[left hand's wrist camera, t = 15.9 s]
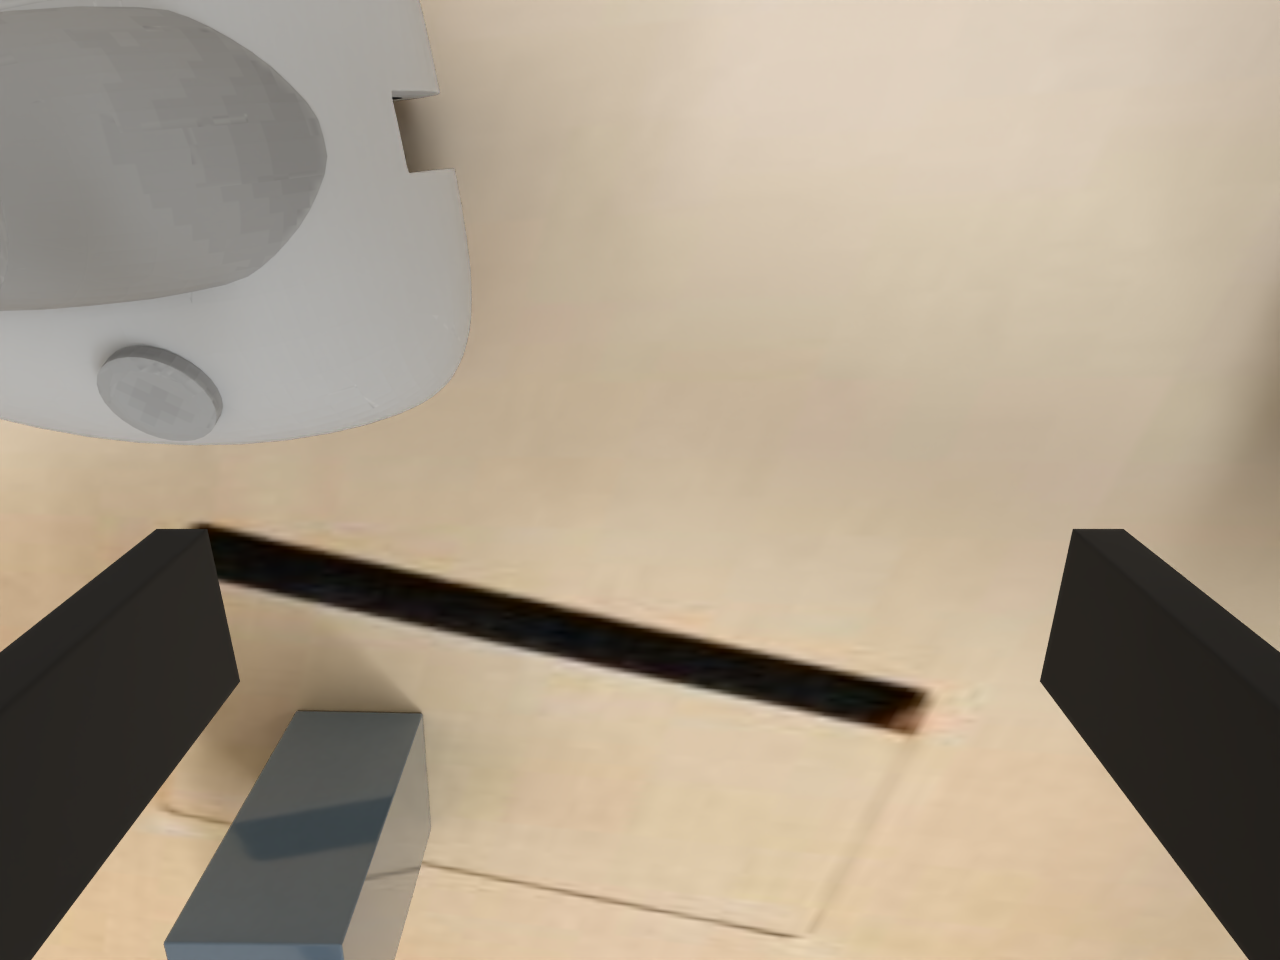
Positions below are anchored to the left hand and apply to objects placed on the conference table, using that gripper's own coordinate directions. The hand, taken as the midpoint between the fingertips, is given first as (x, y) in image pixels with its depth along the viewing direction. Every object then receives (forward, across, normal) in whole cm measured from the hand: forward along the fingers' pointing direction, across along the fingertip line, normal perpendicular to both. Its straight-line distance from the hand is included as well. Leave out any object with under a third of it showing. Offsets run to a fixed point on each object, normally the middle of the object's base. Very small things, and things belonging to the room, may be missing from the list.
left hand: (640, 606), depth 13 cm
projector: (+19, -17, +5) cm, 26 cm away
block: (+19, -12, -20) cm, 30 cm away
